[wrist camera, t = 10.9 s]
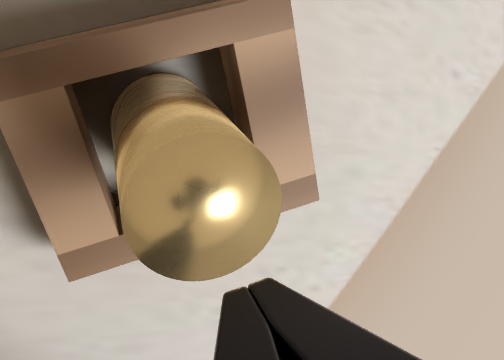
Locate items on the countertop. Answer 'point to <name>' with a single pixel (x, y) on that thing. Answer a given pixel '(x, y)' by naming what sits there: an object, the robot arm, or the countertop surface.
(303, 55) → the countertop surface
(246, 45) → the jig
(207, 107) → the peg
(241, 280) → the countertop surface
